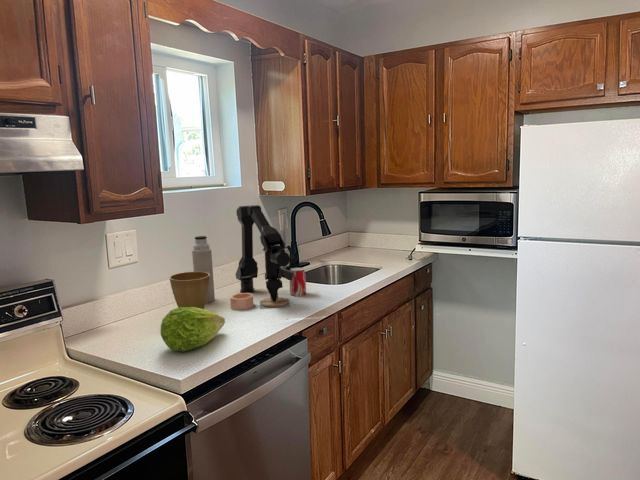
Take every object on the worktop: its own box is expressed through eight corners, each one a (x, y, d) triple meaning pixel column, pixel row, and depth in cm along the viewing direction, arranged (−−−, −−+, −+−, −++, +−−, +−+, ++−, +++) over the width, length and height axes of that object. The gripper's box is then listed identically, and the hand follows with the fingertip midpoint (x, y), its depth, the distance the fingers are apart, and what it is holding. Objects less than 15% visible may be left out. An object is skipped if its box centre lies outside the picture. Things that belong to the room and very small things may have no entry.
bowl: (231, 305, 196) (230, 294, 195) (253, 304, 197) (252, 292, 197) (230, 312, 187) (229, 299, 186) (253, 310, 189) (253, 298, 188)
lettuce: (241, 339, 160) (236, 298, 161) (185, 354, 140) (179, 308, 141) (210, 340, 168) (205, 302, 169) (152, 355, 148) (147, 311, 149)
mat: (259, 302, 199) (259, 300, 199) (288, 300, 201) (287, 298, 201) (260, 311, 187) (260, 309, 187) (290, 308, 189) (290, 306, 189)
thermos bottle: (203, 297, 211) (199, 234, 207) (218, 298, 208) (214, 235, 203) (192, 302, 204) (186, 237, 199) (207, 303, 200) (202, 238, 196)
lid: (260, 300, 199) (259, 290, 198) (287, 298, 200) (286, 288, 200) (261, 308, 188) (260, 297, 187) (289, 306, 189) (288, 295, 189)
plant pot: (172, 323, 176) (168, 281, 173) (173, 312, 190) (170, 273, 187) (213, 319, 180) (210, 277, 177) (211, 308, 194) (208, 269, 191)
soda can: (304, 298, 203) (303, 270, 201) (288, 297, 205) (287, 270, 203) (308, 293, 210) (306, 267, 208) (292, 293, 212) (291, 267, 210)
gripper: (294, 266, 183) (296, 305, 186) (290, 257, 202) (291, 292, 204) (265, 268, 182) (267, 307, 184) (263, 259, 200) (265, 294, 203)
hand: (274, 300), depth 194 cm, fingers closed on lid, 3 cm apart
